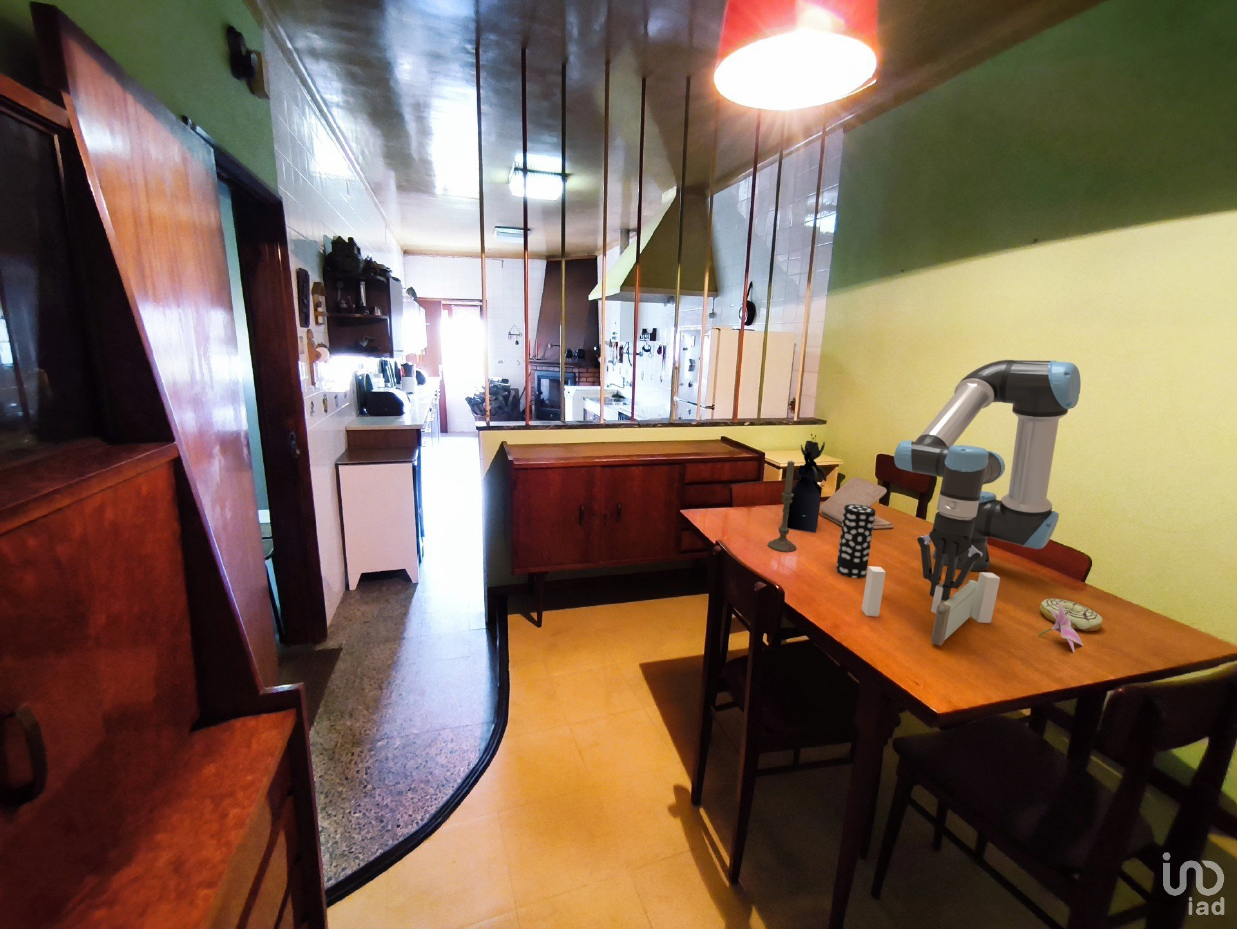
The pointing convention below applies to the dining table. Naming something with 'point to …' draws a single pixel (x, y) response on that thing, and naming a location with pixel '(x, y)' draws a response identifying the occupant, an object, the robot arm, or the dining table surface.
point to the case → (854, 500)
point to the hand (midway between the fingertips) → (936, 610)
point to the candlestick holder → (785, 515)
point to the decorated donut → (1073, 614)
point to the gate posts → (982, 604)
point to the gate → (954, 612)
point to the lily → (1064, 627)
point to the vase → (807, 491)
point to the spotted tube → (855, 540)
